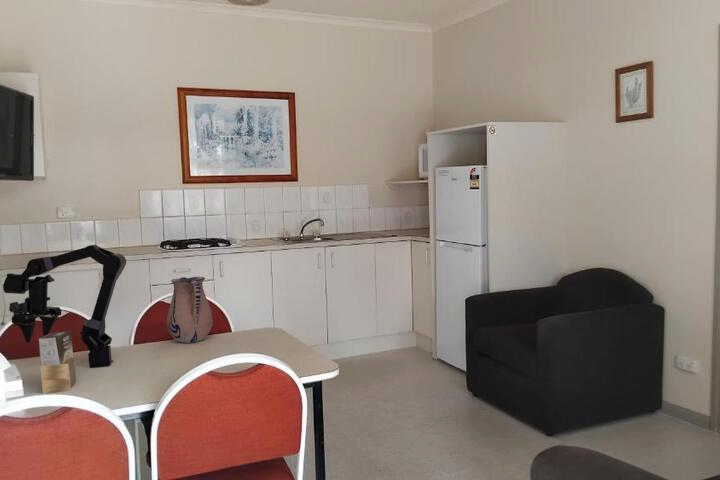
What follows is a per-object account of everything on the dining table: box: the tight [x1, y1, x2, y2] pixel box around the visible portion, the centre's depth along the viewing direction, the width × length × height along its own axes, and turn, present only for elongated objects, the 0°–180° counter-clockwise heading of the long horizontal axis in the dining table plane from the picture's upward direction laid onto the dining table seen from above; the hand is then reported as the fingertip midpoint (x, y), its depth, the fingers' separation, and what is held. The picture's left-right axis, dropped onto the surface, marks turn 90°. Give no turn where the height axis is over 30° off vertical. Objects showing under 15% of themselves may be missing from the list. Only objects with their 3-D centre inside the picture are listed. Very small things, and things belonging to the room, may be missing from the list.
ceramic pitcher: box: [166, 276, 214, 344], centre depth 244 cm, size 18×21×25 cm
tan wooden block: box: [39, 356, 77, 394], centre depth 188 cm, size 8×9×8 cm
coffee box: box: [38, 330, 74, 367], centre depth 191 cm, size 9×6×16 cm
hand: (36, 339), depth 212 cm, fingers open, 9 cm apart
